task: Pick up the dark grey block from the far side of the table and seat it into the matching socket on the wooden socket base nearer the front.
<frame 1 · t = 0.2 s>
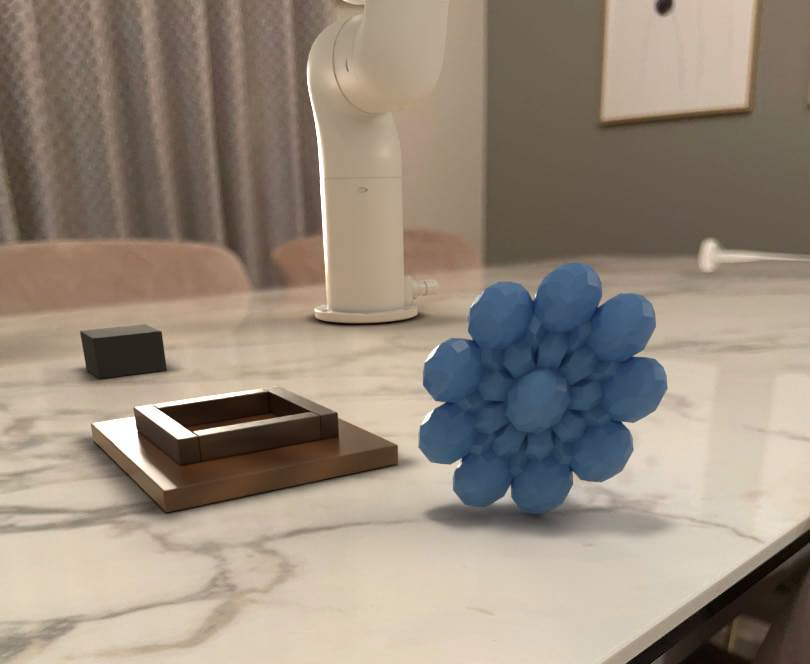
blue flower ornament: (533, 510, 43), on the table
wooden socket base: (237, 451, 53), on the table
dark grey block: (126, 369, 77), on the table
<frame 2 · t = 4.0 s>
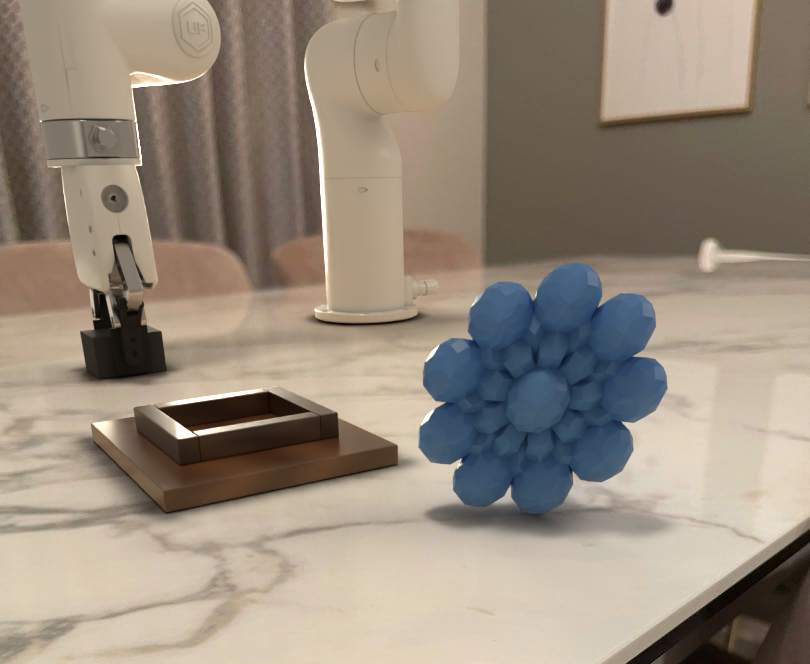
hand: (125, 365, 77), 0 cm above the table, tool pointing down, fingers closed on dark grey block, 5 cm apart
dark grey block: (126, 370, 77), on the table, touching gripper
everything else where it was.
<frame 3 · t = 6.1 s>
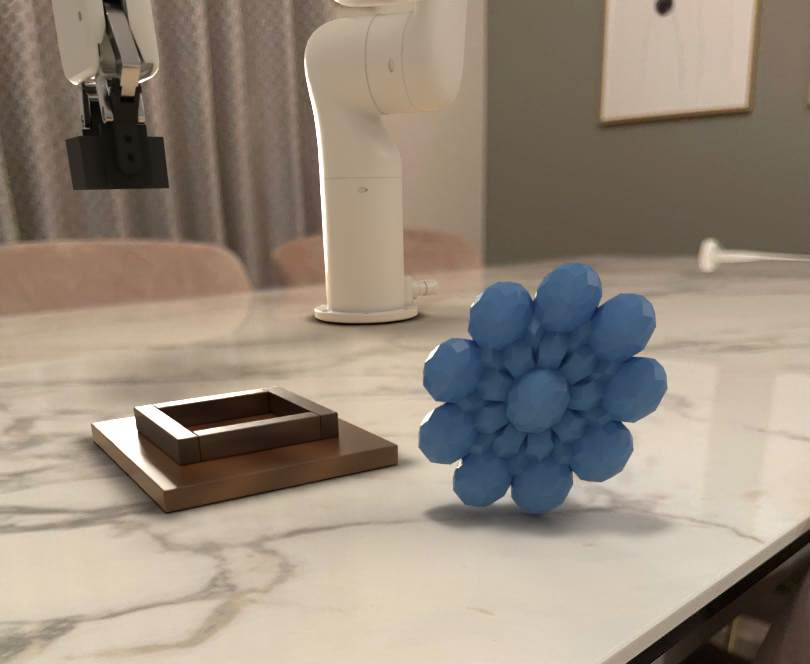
hand: (120, 182, 64), 16 cm above the table, tool pointing down, fingers closed on dark grey block, 5 cm apart
dark grey block: (120, 189, 64), point 15 cm above the table, touching gripper
everything else where it was.
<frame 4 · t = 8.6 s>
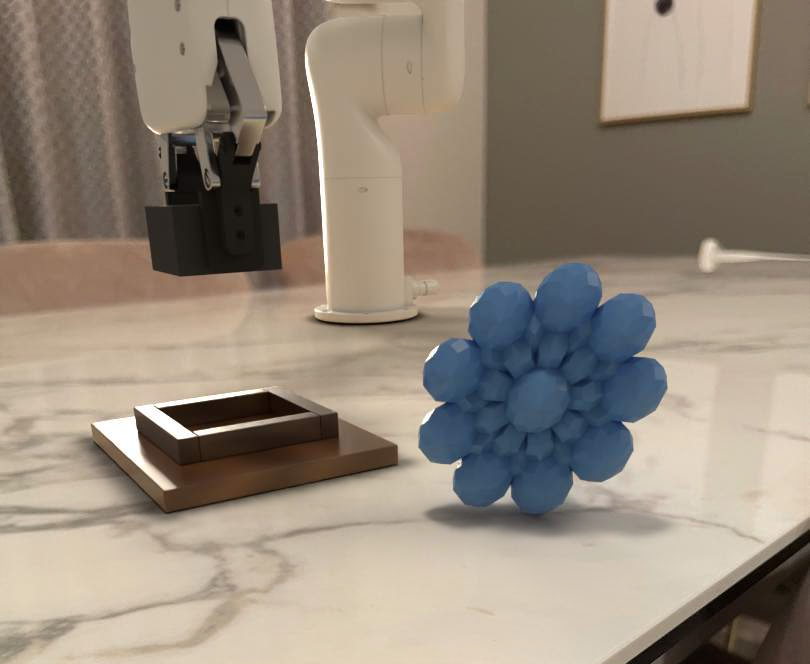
hand: (217, 262, 48), 11 cm above the table, tool pointing down, fingers closed on dark grey block, 5 cm apart
dark grey block: (216, 269, 49), point 11 cm above the table, touching gripper
everything else where it was.
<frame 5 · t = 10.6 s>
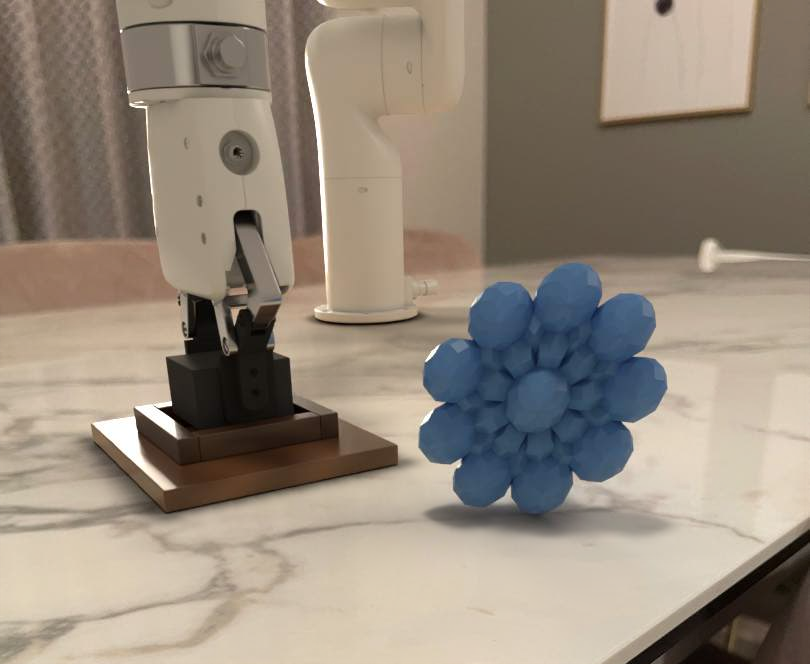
hand: (233, 407, 52), 3 cm above the table, tool pointing down, fingers closed on dark grey block, 5 cm apart
dark grey block: (232, 414, 52), point 2 cm above the table, touching gripper
everything else where it was.
when the fingers open (3 cm above the table, at t = 13.2 s): dark grey block drops 1 cm, resting on wooden socket base.
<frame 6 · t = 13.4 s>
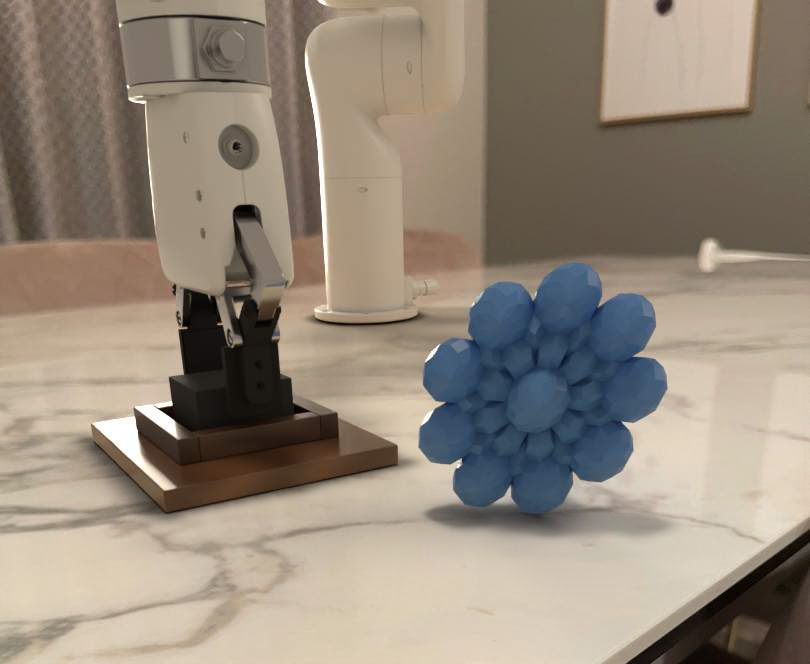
hand: (232, 398, 52), 3 cm above the table, tool pointing down, fingers open, 6 cm apart
dark grey block: (235, 432, 53), point 1 cm above the table, touching wooden socket base
everything else where it was.
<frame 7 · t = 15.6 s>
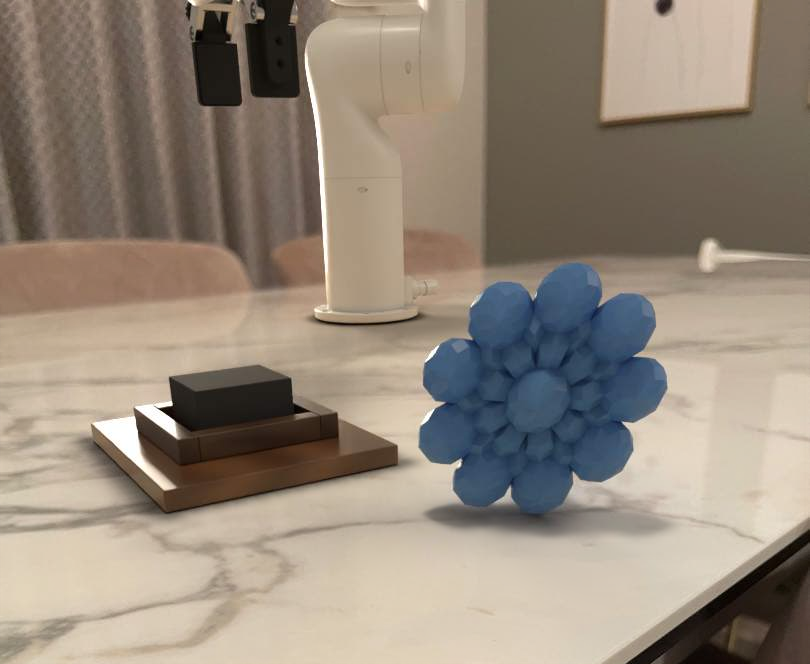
hand: (246, 102, 58), 21 cm above the table, tool pointing down, fingers open, 9 cm apart
nothing on the table moved.
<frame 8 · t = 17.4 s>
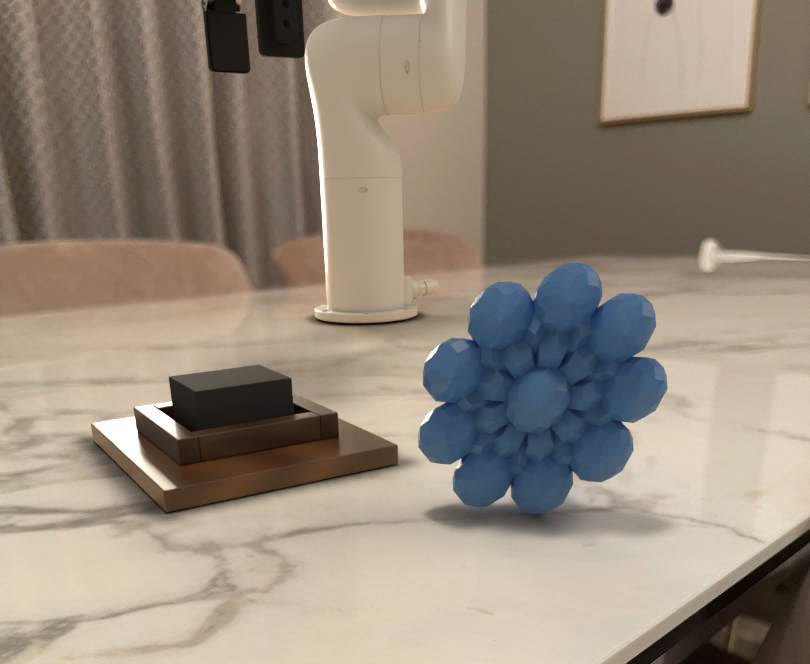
hand: (254, 65, 61), 23 cm above the table, tool pointing down, fingers open, 9 cm apart
nothing on the table moved.
at the end: dark grey block 0.1 cm off-centre on the wooden socket base, point 1.2 cm above the wooden socket base's base; dark grey block tilted 0° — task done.
